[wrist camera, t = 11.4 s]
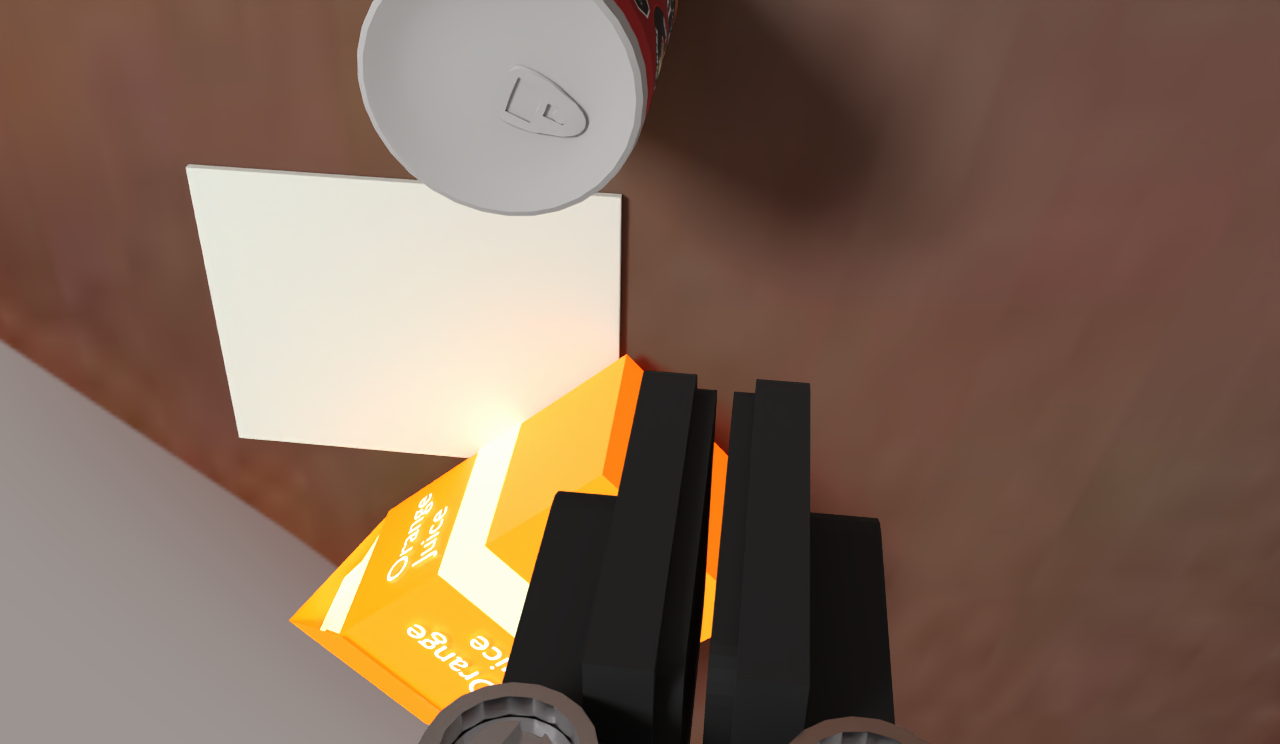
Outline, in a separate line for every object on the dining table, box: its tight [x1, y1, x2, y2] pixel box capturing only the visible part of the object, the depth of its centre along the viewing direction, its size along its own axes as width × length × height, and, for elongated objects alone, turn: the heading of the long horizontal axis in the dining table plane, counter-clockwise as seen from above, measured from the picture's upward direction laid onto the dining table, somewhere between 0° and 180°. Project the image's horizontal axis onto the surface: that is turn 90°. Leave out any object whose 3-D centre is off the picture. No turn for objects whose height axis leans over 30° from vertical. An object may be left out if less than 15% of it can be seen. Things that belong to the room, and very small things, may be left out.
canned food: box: [357, 0, 678, 216], centre depth 37 cm, size 8×8×11 cm
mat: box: [186, 164, 622, 458], centre depth 50 cm, size 17×13×1 cm
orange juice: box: [289, 354, 728, 725], centre depth 52 cm, size 8×9×20 cm
